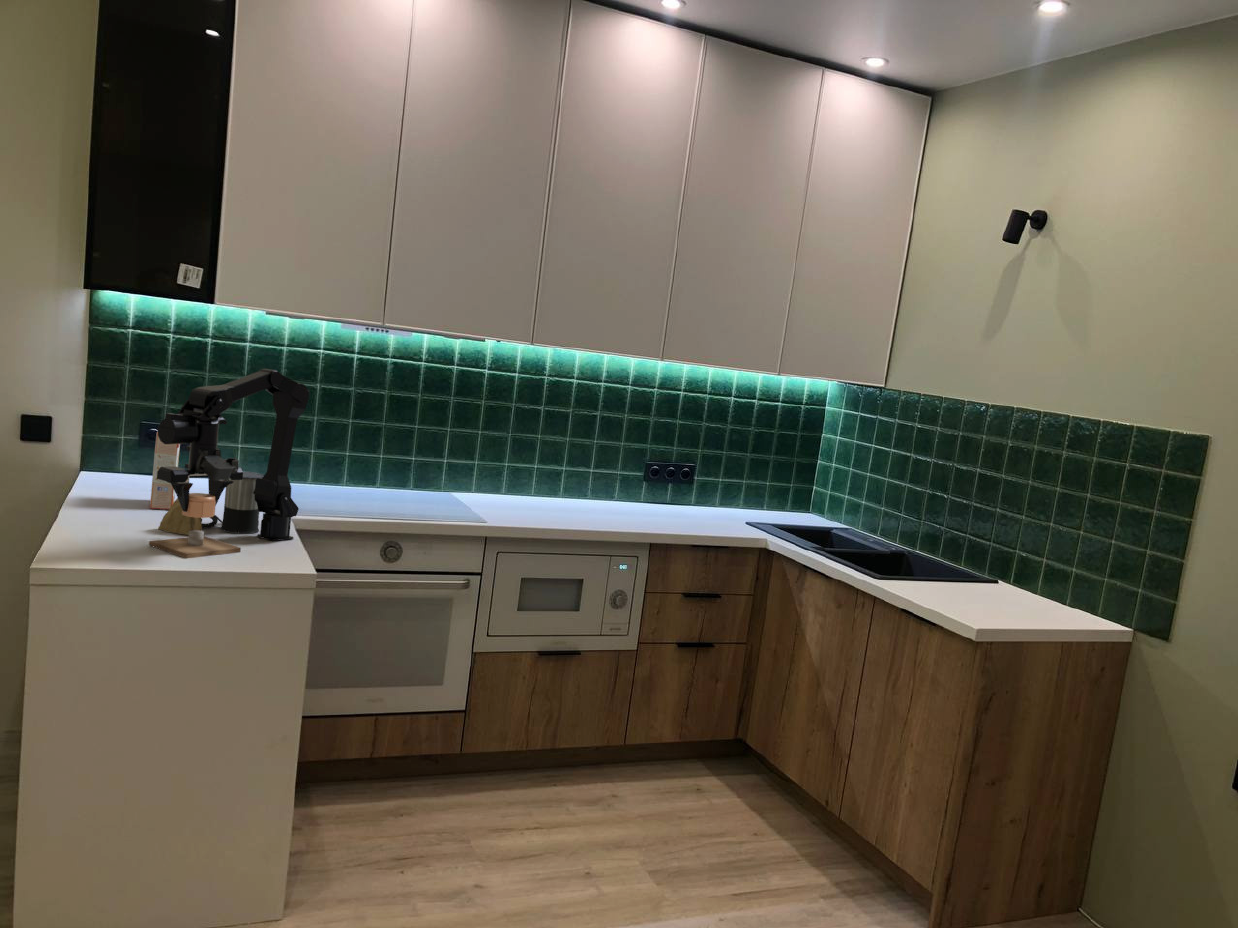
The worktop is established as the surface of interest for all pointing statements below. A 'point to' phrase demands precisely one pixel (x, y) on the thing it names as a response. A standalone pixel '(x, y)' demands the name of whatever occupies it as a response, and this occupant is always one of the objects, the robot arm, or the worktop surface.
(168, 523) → the rock
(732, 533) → the worktop surface
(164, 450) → the cracker box
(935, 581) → the worktop surface
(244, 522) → the milk frother
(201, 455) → the robot arm
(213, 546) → the wooden peg board
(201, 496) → the cap
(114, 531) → the worktop surface
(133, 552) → the worktop surface
